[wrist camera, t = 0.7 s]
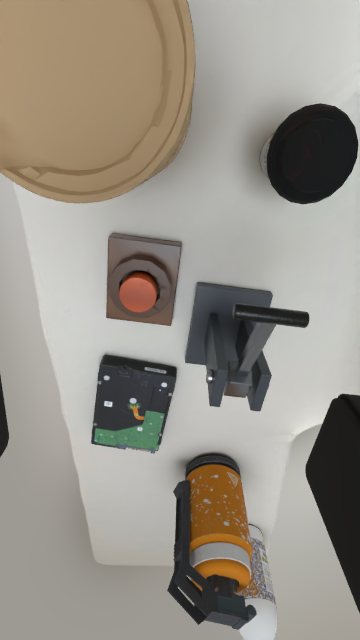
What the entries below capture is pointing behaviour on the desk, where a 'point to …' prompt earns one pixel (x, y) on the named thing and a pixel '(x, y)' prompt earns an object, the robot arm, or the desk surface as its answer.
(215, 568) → the canister
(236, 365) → the lever
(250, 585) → the bath foam
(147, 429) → the disk drive
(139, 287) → the button
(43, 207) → the desk surface
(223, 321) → the bracket
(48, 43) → the container
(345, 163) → the coffee cup
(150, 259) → the button block
